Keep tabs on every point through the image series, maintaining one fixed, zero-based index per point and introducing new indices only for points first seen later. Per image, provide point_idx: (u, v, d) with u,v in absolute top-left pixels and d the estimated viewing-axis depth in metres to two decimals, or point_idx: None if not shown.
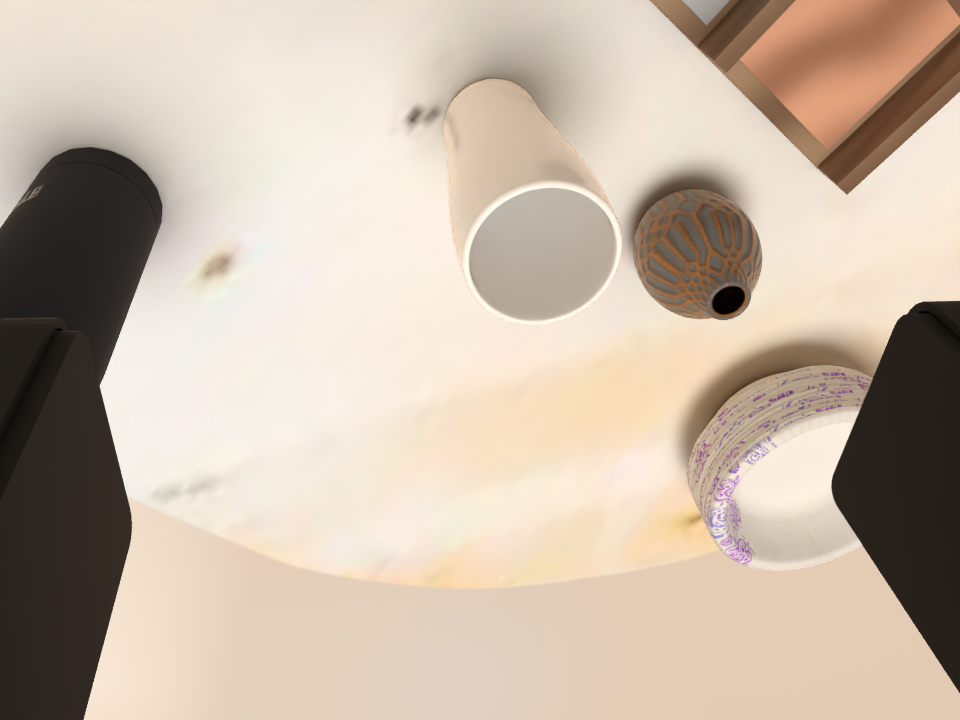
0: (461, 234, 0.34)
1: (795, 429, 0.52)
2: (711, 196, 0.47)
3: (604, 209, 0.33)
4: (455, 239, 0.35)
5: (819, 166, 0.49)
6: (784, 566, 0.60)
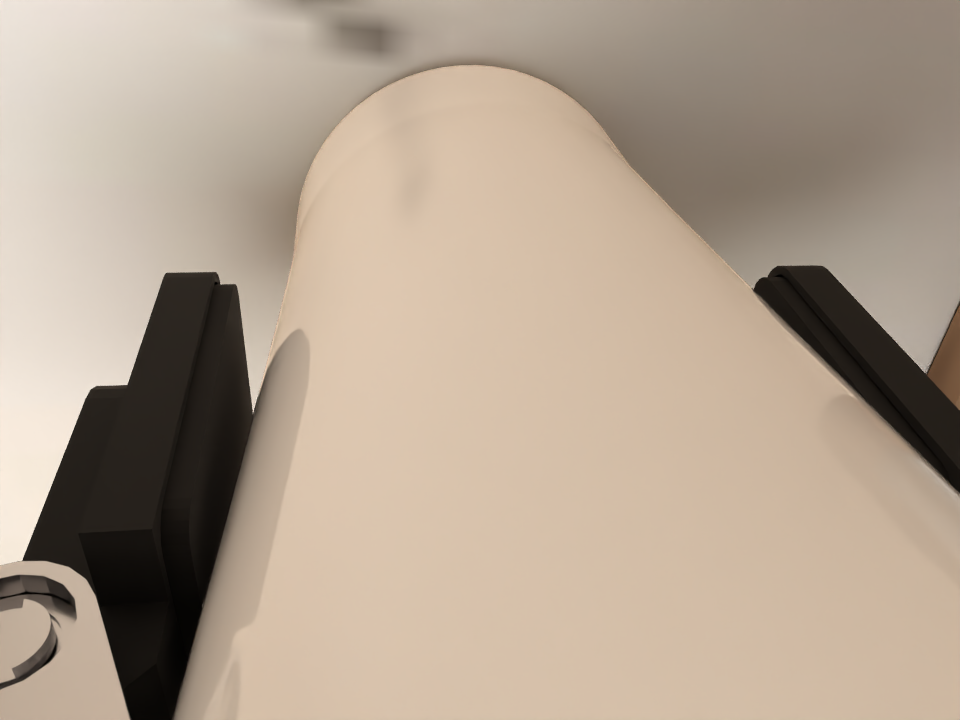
0: None
1: None
2: None
3: None
4: None
5: None
6: None
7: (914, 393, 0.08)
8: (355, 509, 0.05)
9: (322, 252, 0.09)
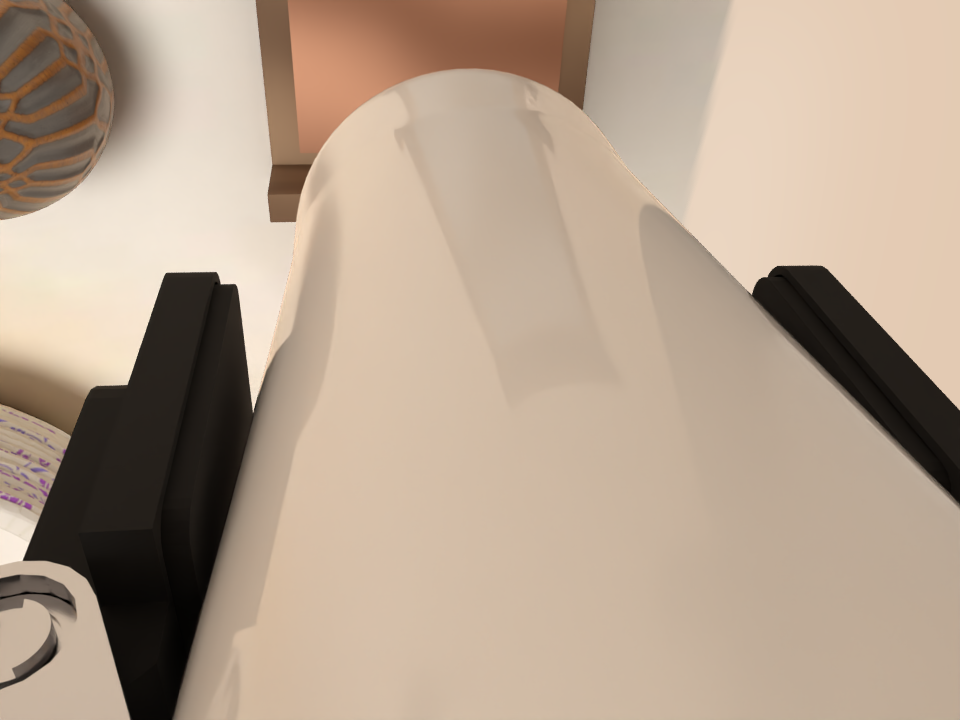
0: None
1: None
2: (75, 27, 0.24)
3: None
4: None
5: (275, 166, 0.30)
6: None
7: (914, 393, 0.08)
8: (352, 514, 0.05)
9: (321, 256, 0.09)
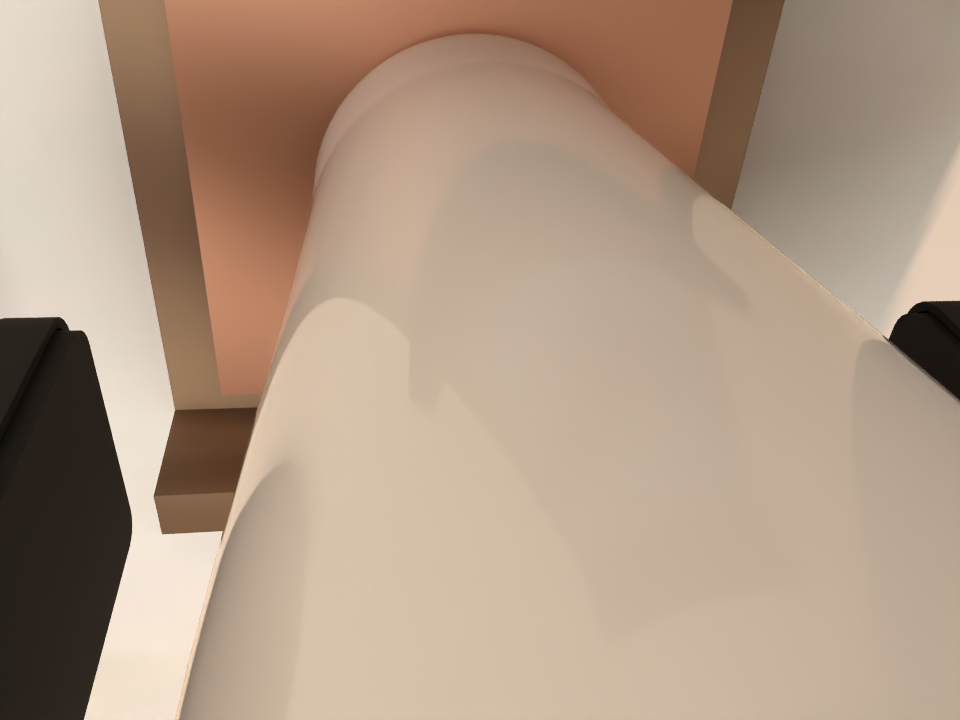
0: None
1: None
2: None
3: None
4: None
5: (179, 414, 0.17)
6: None
7: None
8: (380, 347, 0.06)
9: (341, 186, 0.10)
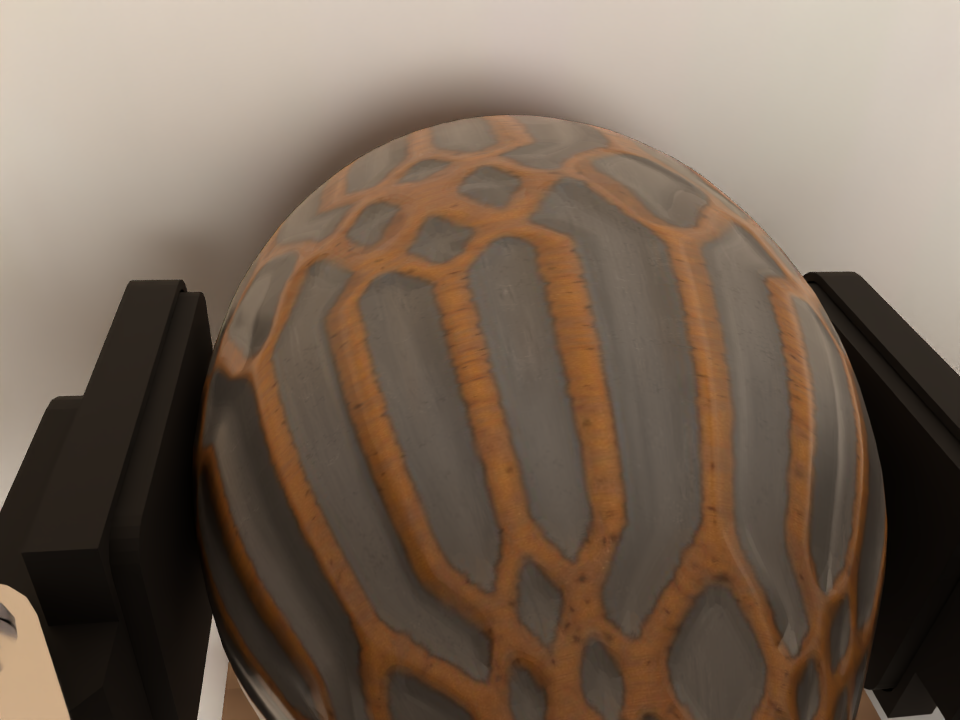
0: None
1: None
2: None
3: None
4: None
5: None
6: None
7: (956, 402, 0.08)
8: None
9: None
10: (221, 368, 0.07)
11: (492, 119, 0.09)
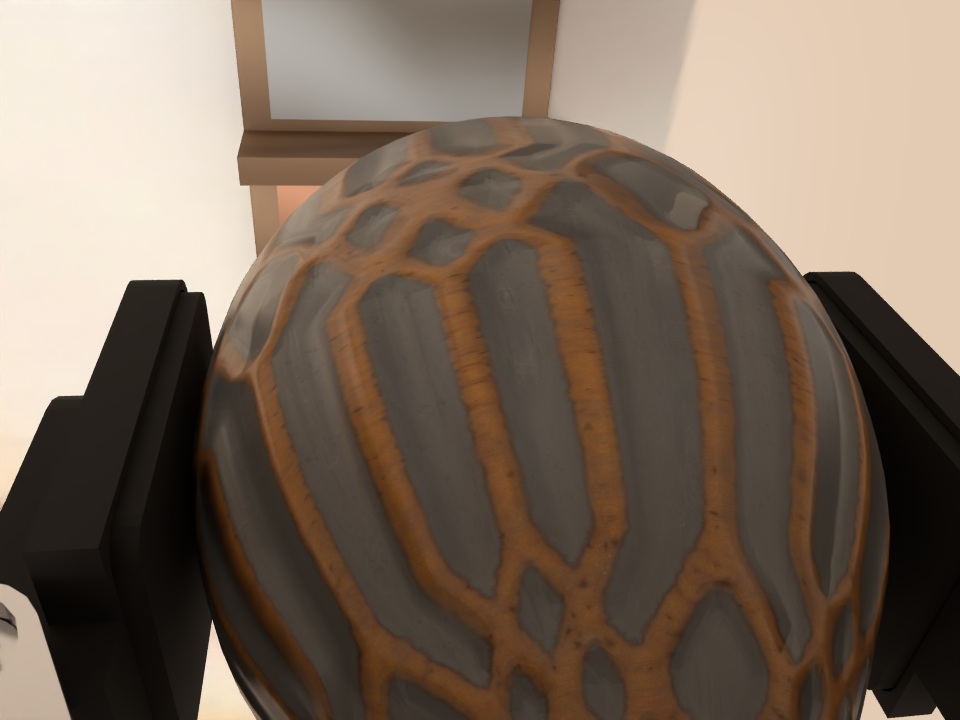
0: None
1: None
2: None
3: None
4: None
5: None
6: None
7: (955, 402, 0.08)
8: None
9: None
10: (220, 371, 0.07)
11: (492, 120, 0.08)
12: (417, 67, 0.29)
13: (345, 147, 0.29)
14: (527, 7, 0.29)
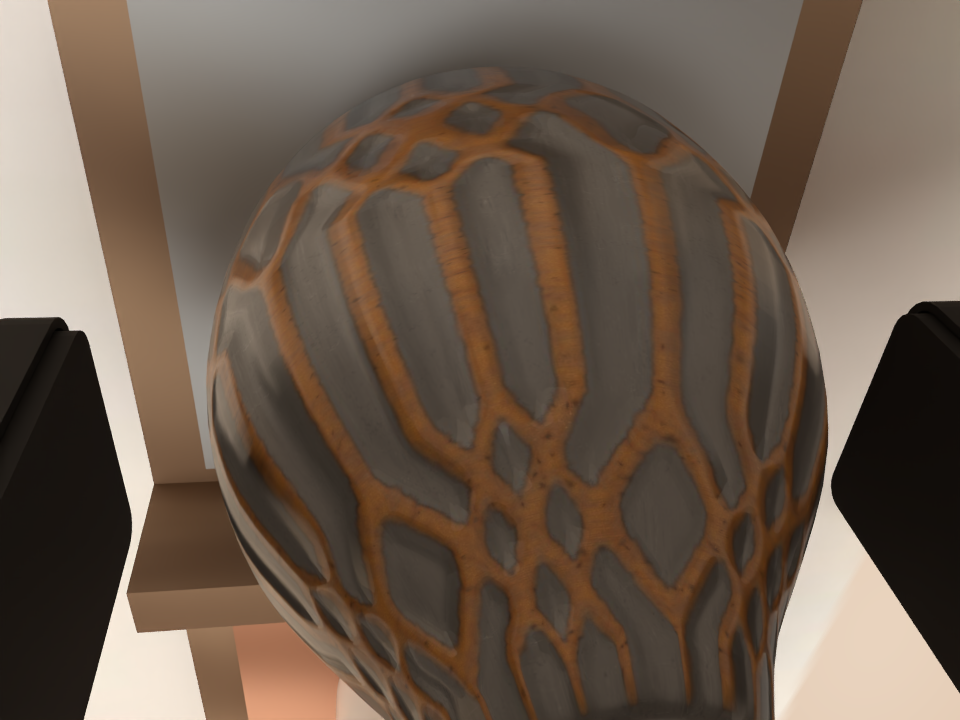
0: None
1: None
2: None
3: None
4: None
5: None
6: None
7: None
8: None
9: None
10: (234, 284, 0.08)
11: (478, 67, 0.09)
12: None
13: None
14: None
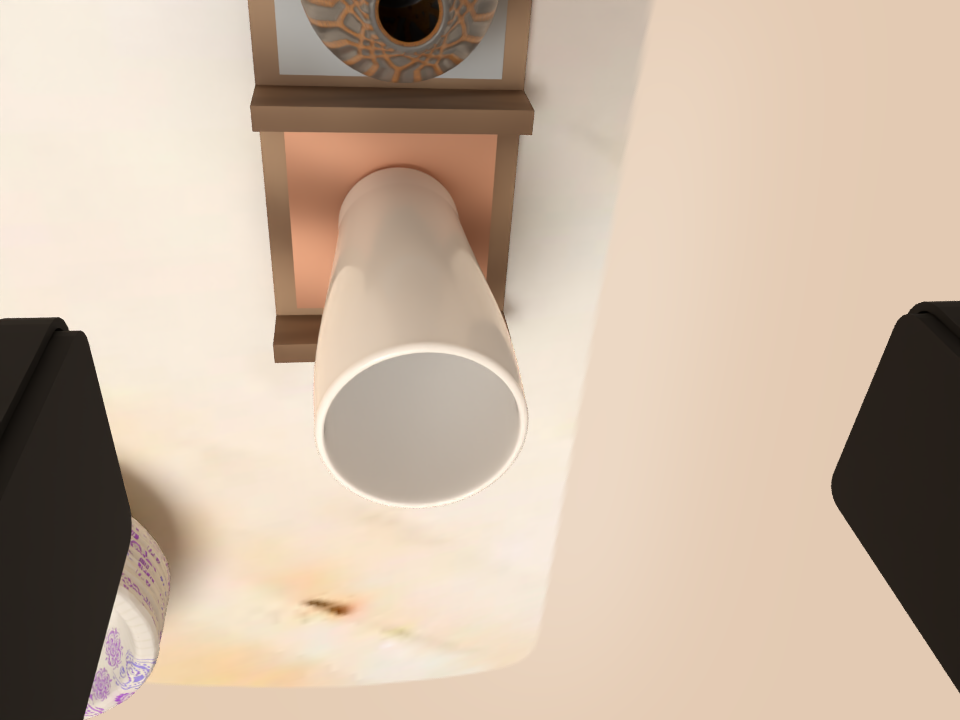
0: (370, 339, 0.25)
1: None
2: None
3: (519, 439, 0.27)
4: (348, 332, 0.26)
5: (278, 317, 0.40)
6: None
7: None
8: (355, 268, 0.29)
9: (347, 229, 0.33)
10: None
11: None
12: None
13: (345, 99, 0.33)
14: None
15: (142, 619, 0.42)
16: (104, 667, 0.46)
